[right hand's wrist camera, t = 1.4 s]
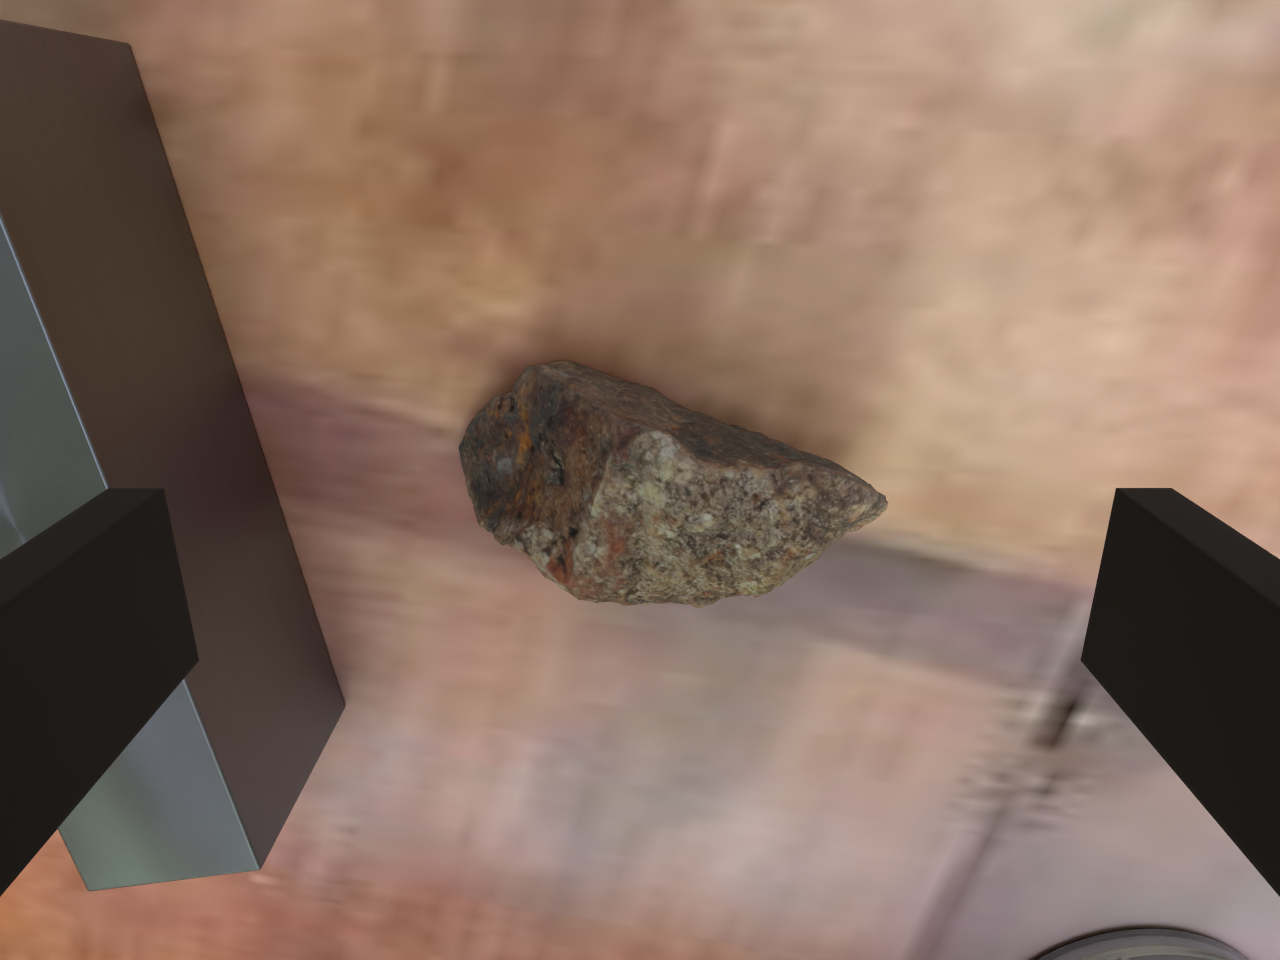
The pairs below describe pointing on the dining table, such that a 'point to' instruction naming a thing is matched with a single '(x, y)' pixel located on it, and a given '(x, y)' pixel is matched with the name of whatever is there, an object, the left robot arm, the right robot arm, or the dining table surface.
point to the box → (148, 462)
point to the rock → (649, 492)
